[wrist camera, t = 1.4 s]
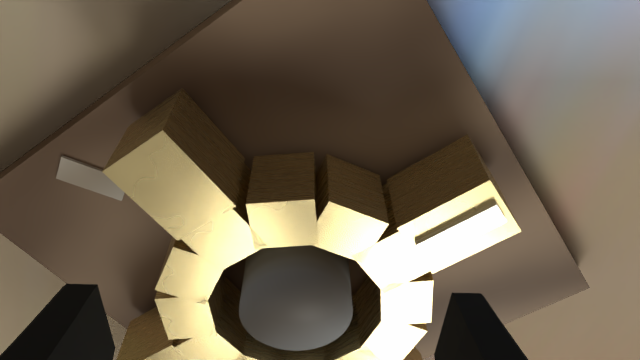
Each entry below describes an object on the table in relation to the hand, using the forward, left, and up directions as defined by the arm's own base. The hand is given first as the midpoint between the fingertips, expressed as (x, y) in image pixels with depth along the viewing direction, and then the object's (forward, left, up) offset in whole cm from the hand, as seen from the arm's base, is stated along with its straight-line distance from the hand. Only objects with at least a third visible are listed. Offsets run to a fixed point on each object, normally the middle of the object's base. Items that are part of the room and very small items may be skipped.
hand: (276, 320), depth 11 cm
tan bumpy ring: (-5, +3, -8) cm, 10 cm away
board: (-5, +3, -10) cm, 12 cm away
